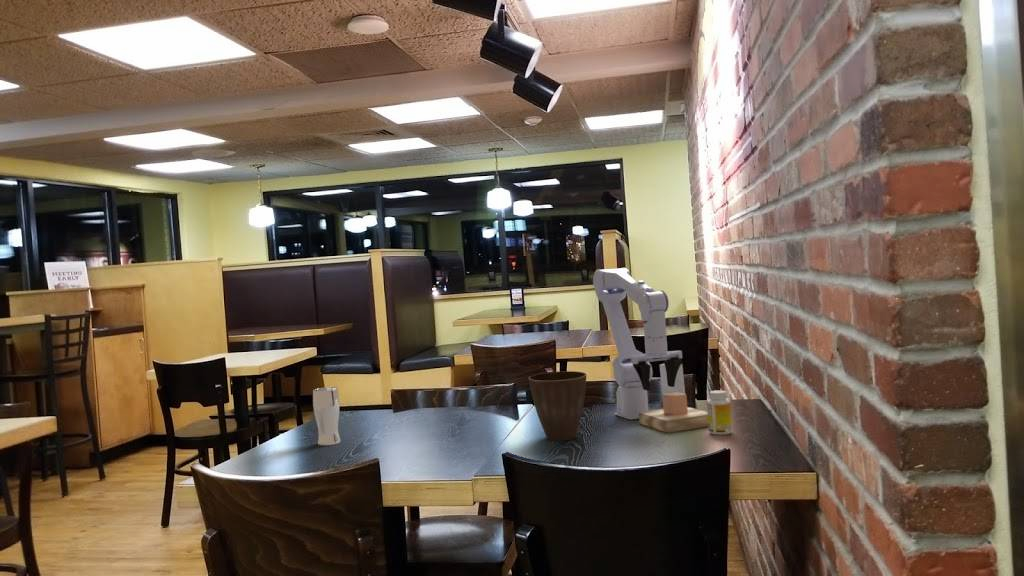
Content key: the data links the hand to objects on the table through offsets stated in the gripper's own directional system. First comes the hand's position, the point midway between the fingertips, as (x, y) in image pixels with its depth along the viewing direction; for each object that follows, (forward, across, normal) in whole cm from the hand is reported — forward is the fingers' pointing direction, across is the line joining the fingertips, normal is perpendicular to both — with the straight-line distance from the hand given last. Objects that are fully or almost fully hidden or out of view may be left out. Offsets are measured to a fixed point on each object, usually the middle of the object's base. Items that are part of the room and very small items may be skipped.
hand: (658, 388), depth 188 cm
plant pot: (+10, -27, +4) cm, 29 cm away
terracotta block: (+7, +4, -2) cm, 8 cm away
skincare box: (+10, +20, +24) cm, 33 cm away
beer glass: (+10, -82, +39) cm, 91 cm away
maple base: (+10, +4, -2) cm, 11 cm away
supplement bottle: (+10, +6, -17) cm, 20 cm away
